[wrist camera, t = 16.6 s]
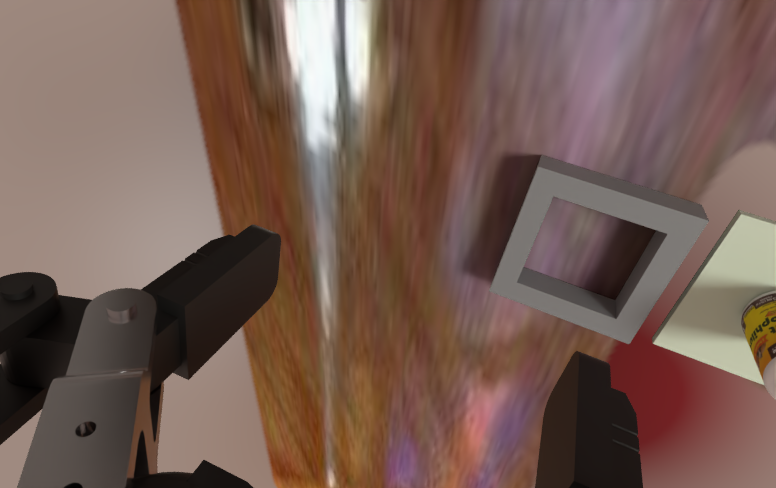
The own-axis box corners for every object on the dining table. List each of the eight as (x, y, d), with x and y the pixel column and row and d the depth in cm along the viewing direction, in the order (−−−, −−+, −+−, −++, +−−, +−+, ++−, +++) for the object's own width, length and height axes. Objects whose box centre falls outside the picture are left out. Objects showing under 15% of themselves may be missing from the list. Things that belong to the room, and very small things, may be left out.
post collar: (541, 154, 41) (538, 166, 39) (701, 204, 39) (708, 220, 36) (494, 274, 48) (489, 291, 46) (627, 324, 46) (629, 344, 43)
